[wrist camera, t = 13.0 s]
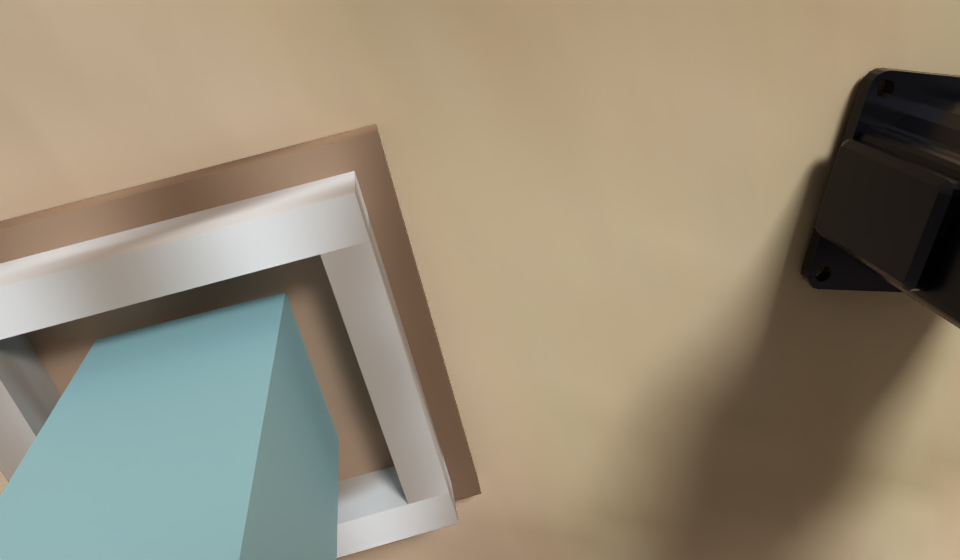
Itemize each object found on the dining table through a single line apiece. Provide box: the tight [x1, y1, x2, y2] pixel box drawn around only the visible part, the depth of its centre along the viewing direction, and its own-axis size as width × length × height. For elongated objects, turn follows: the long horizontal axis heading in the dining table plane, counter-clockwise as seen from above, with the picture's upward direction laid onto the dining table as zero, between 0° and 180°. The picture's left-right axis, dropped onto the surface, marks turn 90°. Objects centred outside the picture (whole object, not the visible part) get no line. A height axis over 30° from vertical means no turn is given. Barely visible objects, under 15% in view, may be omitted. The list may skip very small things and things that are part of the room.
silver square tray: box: [0, 124, 481, 558], centre depth 20 cm, size 12×12×3 cm
